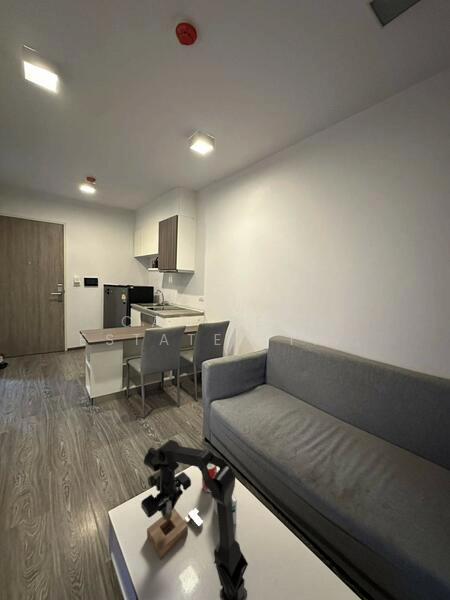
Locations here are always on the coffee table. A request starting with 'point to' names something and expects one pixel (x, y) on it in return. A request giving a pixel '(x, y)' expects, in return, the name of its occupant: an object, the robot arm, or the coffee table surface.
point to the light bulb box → (234, 506)
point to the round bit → (168, 508)
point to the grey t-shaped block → (194, 519)
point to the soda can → (212, 472)
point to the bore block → (169, 541)
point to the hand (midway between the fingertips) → (167, 512)
